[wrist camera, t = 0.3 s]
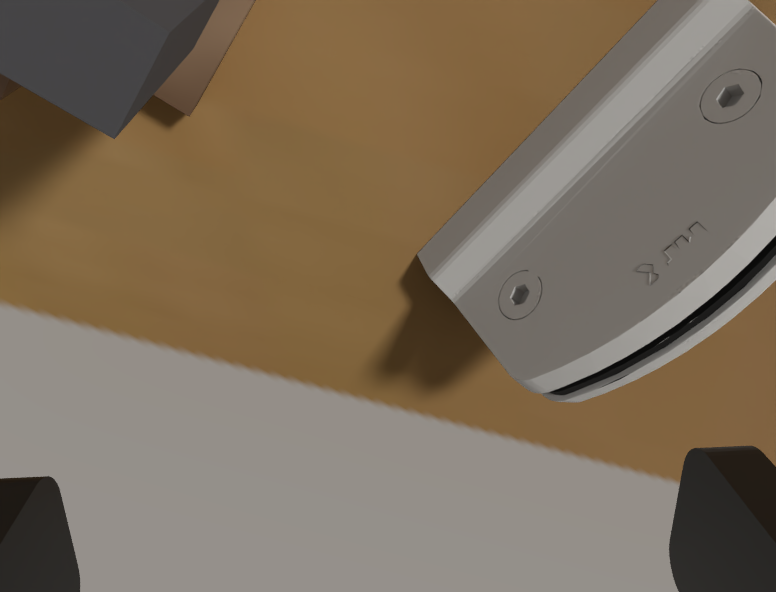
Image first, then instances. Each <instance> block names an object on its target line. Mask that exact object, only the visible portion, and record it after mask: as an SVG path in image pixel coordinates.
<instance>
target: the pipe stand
mask: <svg viewBox="0 0 776 592" xmlns="http://www.w3.org/2000/svg"><path fill="white" fill-rule="evenodd" d="M255 1H256V0H219V2H218V4H217V6H216V8H215V10H214V11H213V13H212V15H211V17H210V19H209V21H208V23H207V24H206V26H205V28H204V30H203V32H202V34H201V35H200V37H199V39H198V41H197V43H196V45H195V47H194V48H193V50H192V51H191V52H190V53H189V54H188V56H187V57H186V58H185V59H184V60H183V61H182V62H181V64H180V65H179V66H178V67H177V68H176V69H175V70H174V72H173V73H172V74H171V75H170V76H169V77H168V78H167V80H166V81H165V82H164V83H163V84H162V85H161V86H160V88H159V89H158V90H157V91H156V92H155V93H154V94H153V95H154V96H156V97H158V98H159V99H161V100H163V101H164V102H166V103H168V104H169V105H171V106H173V107H174V108H176V109H178V110H179V111H181V112H182V113H184V114H186V115H187V116H190V115H191V113H192V112H193V110H194V109H195V107H196V106H197V104H198V102H199V100H200V99H201V97H202V95H203V93H204V91H205V90H206V88H207V86H208V84H209V83H210V81H211V79H212V77H213V75H214V74H215V72H216V70H217V68H218V67H219V65H220V63H221V61H222V59H223V58H224V56H225V54H226V52H227V51H228V49H229V47H230V45H231V43H232V42H233V40H234V38H235V36H236V35H237V33H238V31H239V29H240V27H241V26H242V24H243V22H244V20H245V19H246V17H247V15H248V13H249V11H250V10H251V8H252V6H253V4H254V3H255ZM19 87H21V85H19V84H18V83H16V82H14V81H12V80H11V79H9V78H7V77H5V76H4V75H2V74H0V100H1V99H3V98H4V97H6V96H7V95H9V94H10V93H12V92H13V91H15V90H16V89H18V88H19Z"/></svg>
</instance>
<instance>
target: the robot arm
mask: <svg viewBox="0 0 776 592" xmlns="http://www.w3.org/2000/svg"><path fill="white" fill-rule="evenodd" d="M669 553H670V564H671V569H672V573H673V577H674V580H675V584H676V586H677V589H678V591H679V592H776V467H775V466H774V465H773V463H772V462H771V461H770V460H769V459H768V458H767V457H766V456H765V455H764V453H762V452H761V451H760V450H759V449H758V448H756V447H754V446H734V447H712V448H694V449H691V450H690V451H689V452H688V454H687V455H686V458H685V461H684V465H683V470H682V476H681V481H680V487H679V493H678V498H677V503H676V509H675V514H674V520H673V526H672V531H671V537H670V544H669ZM0 592H80V575H79V569H78V564H77V560H76V556H75V552H74V547H73V543H72V539H71V535H70V531H69V527H68V522H67V518H66V514H65V510H64V506H63V502H62V497H61V493H60V490H59V487H58V485H57V483H56V481H55V480H54V479H53V478H52V477H49V476H48V477H27V478H4V479H0Z"/></svg>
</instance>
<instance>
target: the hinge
mask: <svg viewBox="0 0 776 592" xmlns="http://www.w3.org/2000/svg"><path fill="white" fill-rule="evenodd" d="M417 255H418V257H419V259H420V261H421V263H422V265H423V267H424V269H425V271H426V273H427V275H428V276H429V277H430V279H431V280H432V281H433V282H434V283H435V284H436V285H437V286H438V287H439V288H440V289H441V290H442V291H443V292H444V293H445V294H446V295H447V296H448V297H449V298H450V299H451V301H452V302H453V303H454V304H455V305H456V307H457V308H458V309H459V310H460V312H461V313H462V314H463V316H464V317H465V318H466V319H467V321H468V322H469V323H470V325H471V326H472V327H473V328H474V330H475V331H476V332H477V334H478V335H479V336H480V338H481V339H482V340H483V341H484V343H485V344H486V345H487V347H488V348H489V349H490V350H491V352H492V353H493V354H494V356H495V357H496V358H497V359H498V361H499V362H500V363H501V365H502V366H503V367H504V368H505V370H506V371H507V372H508V374H509V375H510V376H511V377H512V378H513V379H515V380H516V381H517V382H518V383H520V384H521V385H522V386H523V387H525V388H526V389H528V390H529V391H531V392H534V393H541V394H542V395H543V396H545V397H546V398H548V399H549V400H552V401H558V402H581V401H584V400H587V399H590V398H593V397H595V396H598V395H601V394H604V393H607V392H609V391H611V390H614V389H616V388H618V387H620V386H623V385H625V384H627V383H630V382H632V381H634V380H636V379H638V378H640V377H642V376H644V375H646V374H648V373H650V372H652V371H654V370H656V369H658V368H659V367H661V366H663V365H665V364H666V363H668V362H670V361H671V360H673V359H675V358H676V357H678V356H680V355H681V354H683V353H685V352H686V351H688V350H689V349H691V348H692V347H694V346H695V345H697V344H698V343H700V342H701V341H703V340H704V339H705V338H707V337H708V336H710V335H711V334H713V333H714V332H715V331H717V330H718V329H719V328H721V327H722V326H723V325H724V324H726V323H727V322H728V321H730V320H731V319H732V318H734V317H735V316H736V315H737V314H738V313H740V312H741V311H742V310H743V309H744V308H745V307H747V306H748V305H749V304H750V303H751V302H752V301H754V300H755V299H756V298H757V297H758V296H759V295H761V294H762V293H763V292H764V291H765V290H766V289H767V288H768V287H769V286H770V285H771V284H772V283H773V282H774V281H775V280H776V25H775V24H774V23H773V22H772V21H771V20H769V19H768V18H767V17H766V16H765V15H764V14H763V13H762V12H761V11H760V10H759V9H757V8H756V7H755V6H754V5H753V4H752V3H751V2H749V1H748V0H658V1H657V2H656V3H655V4H654V5H653V6H652V7H651V8H650V9H649V10H648V11H647V12H646V13H645V14H644V15H643V16H642V17H641V19H640V20H639V21H638V22H637V23H636V24H635V25H634V26H633V27H632V28H631V29H630V30H629V31H628V32H627V33H626V34H625V35H624V36H623V37H622V39H621V40H620V41H619V42H618V43H617V44H616V45H615V46H614V47H613V48H612V49H611V50H610V51H609V52H608V53H607V54H606V55H605V56H604V57H603V59H602V60H601V61H600V62H599V63H598V64H597V65H596V66H595V67H594V68H593V69H592V70H591V71H590V72H589V73H588V74H587V75H586V76H585V78H584V79H583V80H582V81H581V82H580V83H579V84H578V85H577V86H576V87H575V88H574V89H573V90H572V91H571V92H570V93H569V94H568V95H567V96H566V98H565V99H564V100H563V101H562V102H561V103H560V104H559V105H558V106H557V107H556V108H555V109H554V110H553V111H552V112H551V113H550V114H549V115H548V116H547V118H546V119H545V120H544V121H543V122H542V123H541V124H540V125H539V126H538V127H537V128H536V129H535V130H534V131H533V132H532V133H531V134H530V135H529V136H528V138H527V139H526V140H525V141H524V142H523V143H522V144H521V145H520V146H519V147H518V148H517V149H516V150H515V151H514V152H513V153H512V154H511V155H510V156H509V158H508V159H507V160H506V161H505V162H504V163H503V164H502V165H501V166H500V167H499V168H498V169H497V170H496V171H495V172H494V173H493V174H492V175H491V176H490V178H489V179H488V180H487V181H486V182H485V183H484V184H483V185H482V186H481V187H480V188H479V189H478V190H477V191H476V192H475V193H474V194H473V195H472V196H471V198H470V199H469V200H468V201H467V202H466V203H465V204H464V205H463V206H462V207H461V208H460V209H459V210H458V211H457V212H456V213H455V214H454V215H453V216H452V218H451V219H450V220H449V221H448V222H447V223H446V224H445V225H444V226H443V227H442V228H441V229H440V230H439V231H438V232H437V233H436V234H435V235H434V236H433V238H432V239H431V240H430V241H429V242H428V243H427V244H426V245H425V246H424V247H423V248H422V249H421V250H420V251H419V252H418V253H417Z"/></svg>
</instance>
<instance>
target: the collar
mask: <svg viewBox="0 0 776 592" xmlns="http://www.w3.org/2000/svg"><path fill="white" fill-rule="evenodd" d="M218 2H219V0H0V74H2V75H4V76H5V77H7V78H9V79H11V80H12V81H14V82H16V83H18V84H19V85H21V86H23V87H25V88H26V89H28V90H30V91H32V92H33V93H35V94H37V95H39V96H40V97H42V98H44V99H45V100H47V101H49V102H51V103H52V104H54V105H56V106H58V107H59V108H61V109H63V110H65V111H66V112H68V113H70V114H72V115H73V116H75V117H77V118H78V119H80V120H82V121H84V122H85V123H87V124H89V125H91V126H92V127H94V128H96V129H98V130H99V131H101V132H103V133H105V134H106V135H108V136H110V137H112V138H113V139H115V138H116V137H117V136H118V134H119V133H120V132H121V131H122V130H123V129H124V128H125V126H126V125H127V124H128V123H129V122H130V121H131V120H132V118H133V117H134V116H135V115H136V114H137V113H138V112H139V110H140V109H141V108H142V107H143V106H144V105H145V104H146V102H147V101H148V100H149V99H150V98H151V97H152V96H153V94H154V93H155V92H156V91H157V90H158V89H159V88H160V86H161V85H162V84H163V83H164V82H165V81H166V80H167V78H168V77H169V76H170V75H171V74H172V73H173V72H174V70H175V69H176V68H177V67H178V66H179V65H180V64H181V62H182V61H183V60H184V59H185V58H186V57H187V56H188V54H189V53H190V52H191V51H192V50H193V48H194V47H195V45H196V43H197V41H198V39H199V37H200V35H201V34H202V32H203V30H204V28H205V26H206V24H207V23H208V21H209V19H210V17H211V15H212V13H213V11H214V10H215V8H216V6H217V4H218Z"/></svg>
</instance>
